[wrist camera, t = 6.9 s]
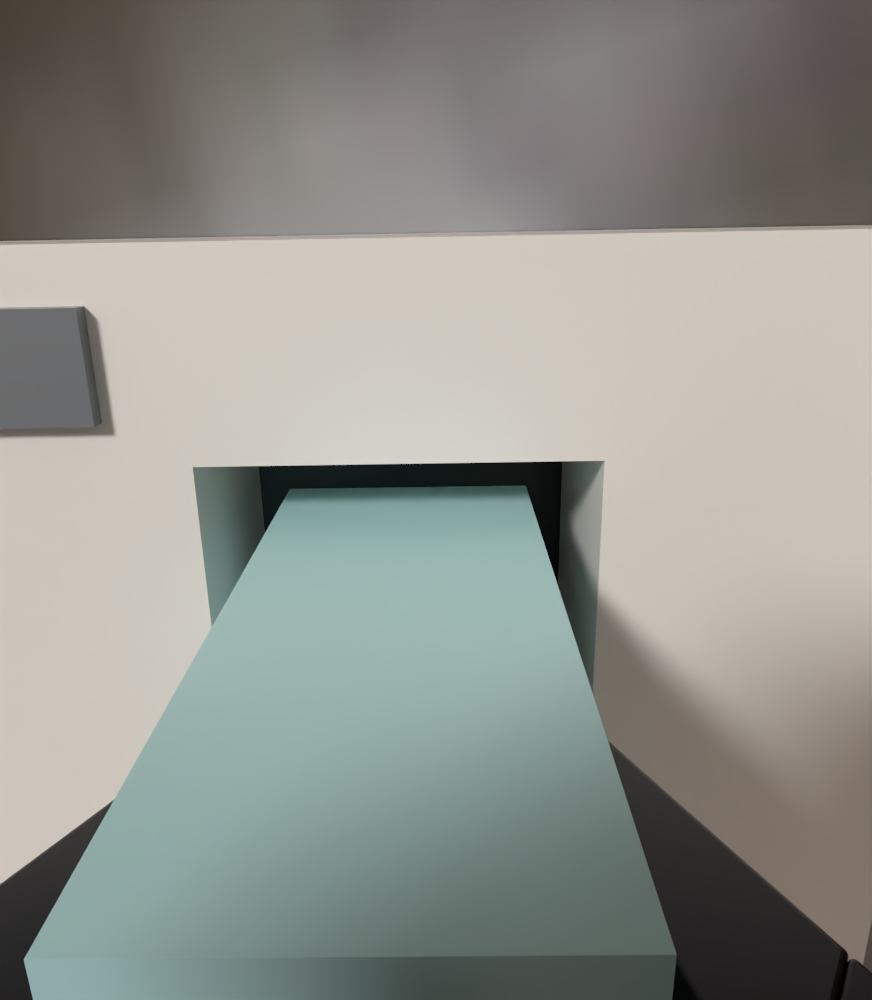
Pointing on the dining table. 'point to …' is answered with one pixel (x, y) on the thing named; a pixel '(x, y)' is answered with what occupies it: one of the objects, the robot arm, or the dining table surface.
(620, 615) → the socket block
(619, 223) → the dining table surface
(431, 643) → the plug
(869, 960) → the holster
